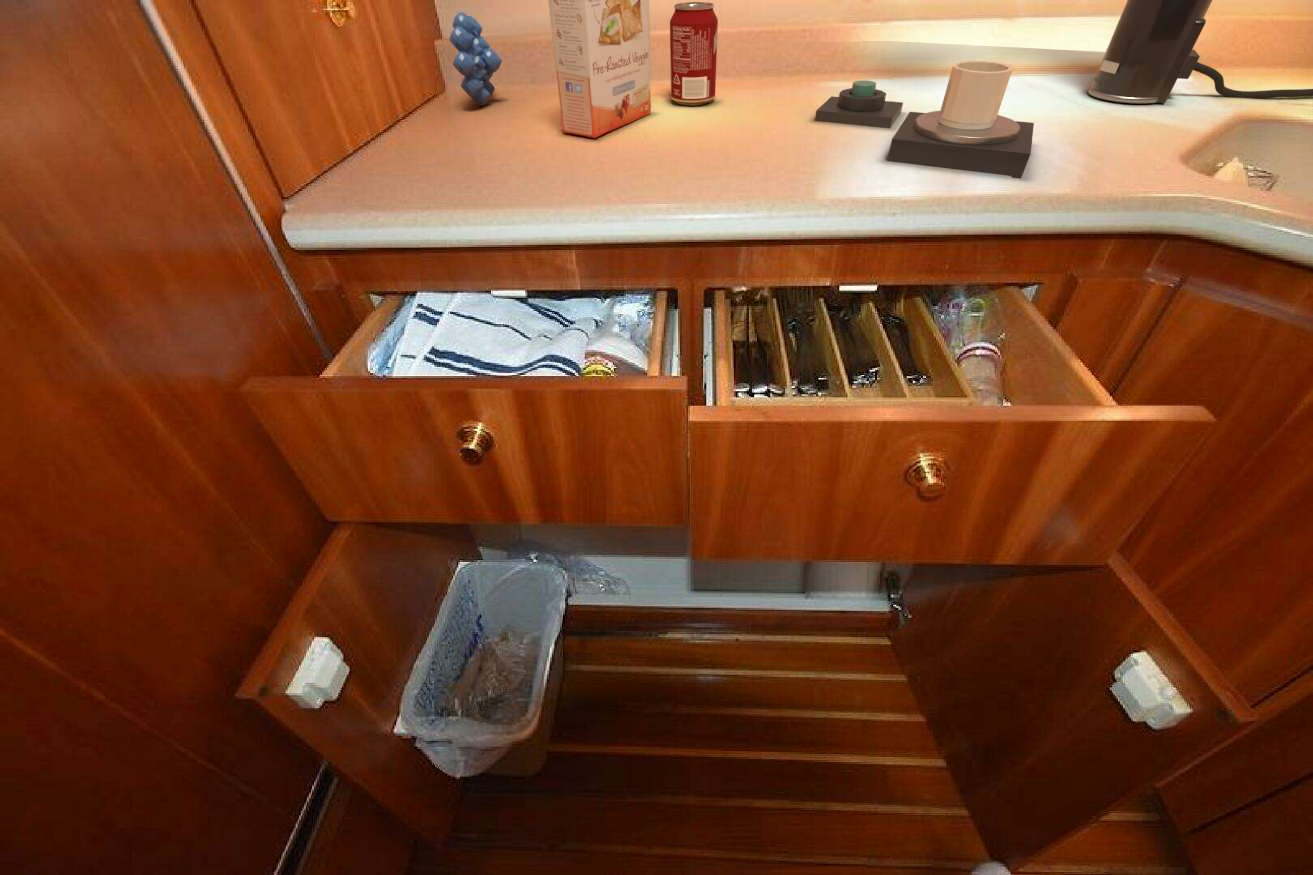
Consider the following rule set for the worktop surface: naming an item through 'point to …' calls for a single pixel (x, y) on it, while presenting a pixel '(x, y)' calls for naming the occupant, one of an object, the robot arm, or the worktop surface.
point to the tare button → (863, 88)
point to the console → (860, 110)
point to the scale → (963, 145)
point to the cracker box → (601, 63)
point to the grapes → (474, 58)
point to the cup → (974, 94)
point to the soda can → (693, 53)
